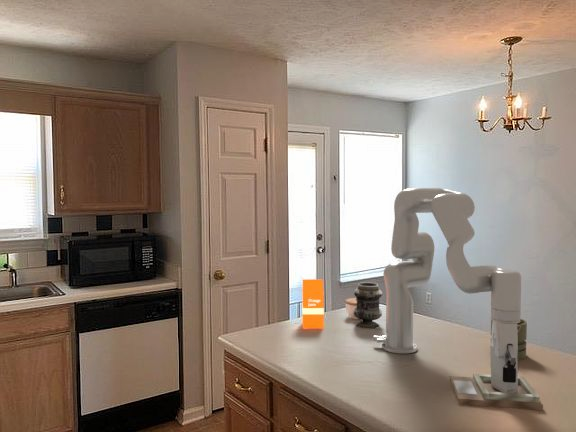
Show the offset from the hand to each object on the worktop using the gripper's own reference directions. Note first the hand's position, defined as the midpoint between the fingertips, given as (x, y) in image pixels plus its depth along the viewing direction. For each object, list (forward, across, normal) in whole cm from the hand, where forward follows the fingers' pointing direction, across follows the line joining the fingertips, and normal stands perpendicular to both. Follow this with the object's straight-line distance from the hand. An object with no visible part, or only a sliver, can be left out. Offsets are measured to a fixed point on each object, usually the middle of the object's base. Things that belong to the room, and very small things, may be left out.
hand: (504, 375), depth 134 cm
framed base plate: (+6, 0, -3) cm, 6 cm away
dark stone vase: (+6, -64, -39) cm, 75 cm away
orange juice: (+6, -60, -62) cm, 86 cm away
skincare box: (+4, 0, 0) cm, 4 cm away
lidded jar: (+6, -77, -44) cm, 89 cm away
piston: (+6, -36, +10) cm, 38 cm away
